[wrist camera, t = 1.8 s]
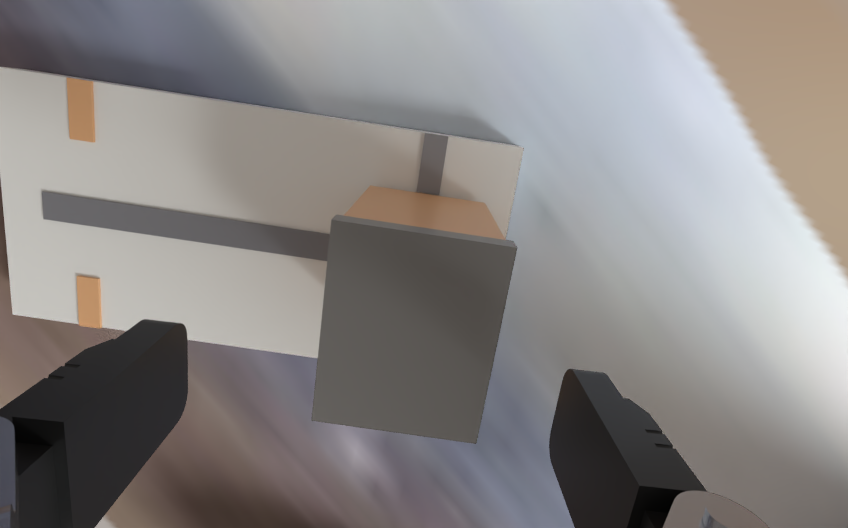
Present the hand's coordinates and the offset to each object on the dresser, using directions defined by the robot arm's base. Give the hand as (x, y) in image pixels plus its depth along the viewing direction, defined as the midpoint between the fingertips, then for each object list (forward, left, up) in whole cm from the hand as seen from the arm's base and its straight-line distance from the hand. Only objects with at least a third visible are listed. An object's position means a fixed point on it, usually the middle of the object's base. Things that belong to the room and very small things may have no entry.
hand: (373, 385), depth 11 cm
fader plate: (+5, 0, -10) cm, 11 cm away
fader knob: (-1, 0, -8) cm, 8 cm away
